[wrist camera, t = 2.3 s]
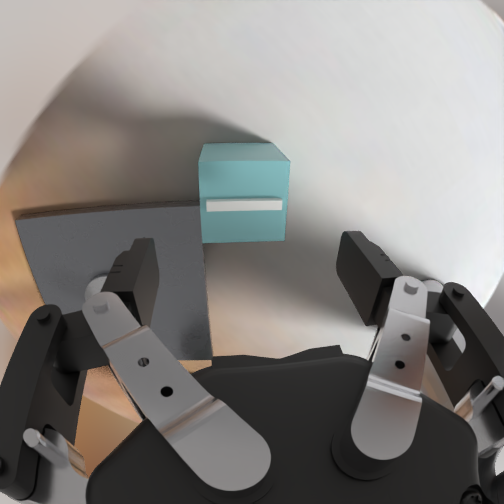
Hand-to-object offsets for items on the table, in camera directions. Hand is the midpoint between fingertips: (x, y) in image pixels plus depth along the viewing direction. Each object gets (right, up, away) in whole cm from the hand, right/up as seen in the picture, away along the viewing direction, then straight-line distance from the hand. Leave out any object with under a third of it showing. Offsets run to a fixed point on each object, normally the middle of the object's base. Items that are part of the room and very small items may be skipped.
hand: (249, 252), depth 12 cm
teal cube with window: (-1, +6, +10) cm, 12 cm away
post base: (-13, -4, +15) cm, 20 cm away
